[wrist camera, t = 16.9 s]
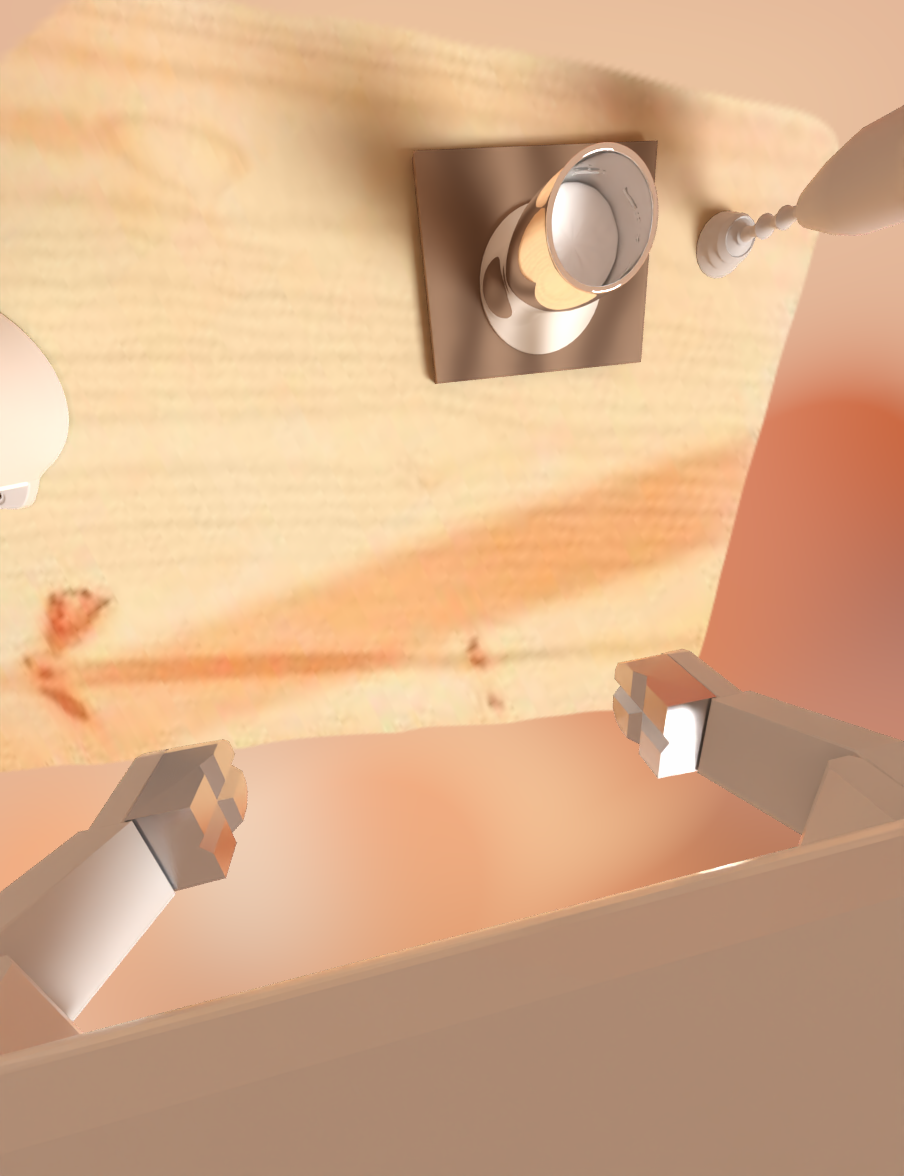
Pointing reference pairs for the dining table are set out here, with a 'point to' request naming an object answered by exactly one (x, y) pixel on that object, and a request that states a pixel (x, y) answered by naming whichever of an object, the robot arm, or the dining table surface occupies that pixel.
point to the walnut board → (466, 243)
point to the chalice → (824, 199)
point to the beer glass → (575, 237)
